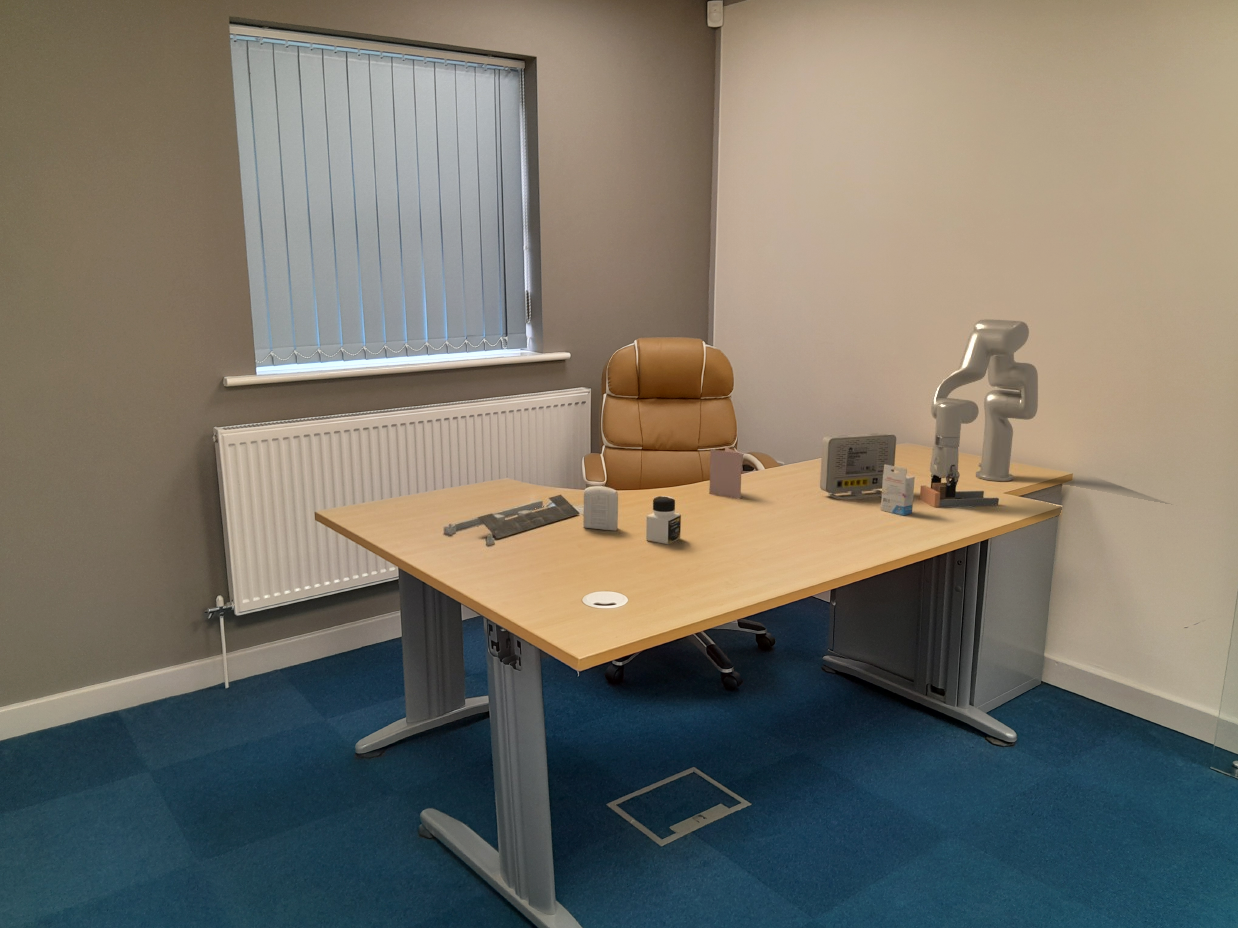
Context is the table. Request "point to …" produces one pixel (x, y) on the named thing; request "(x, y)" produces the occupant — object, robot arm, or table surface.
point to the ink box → (897, 491)
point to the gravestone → (600, 508)
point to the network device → (856, 463)
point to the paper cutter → (519, 518)
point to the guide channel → (973, 499)
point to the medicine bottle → (663, 521)
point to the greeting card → (725, 473)
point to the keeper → (940, 489)
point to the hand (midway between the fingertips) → (942, 493)
